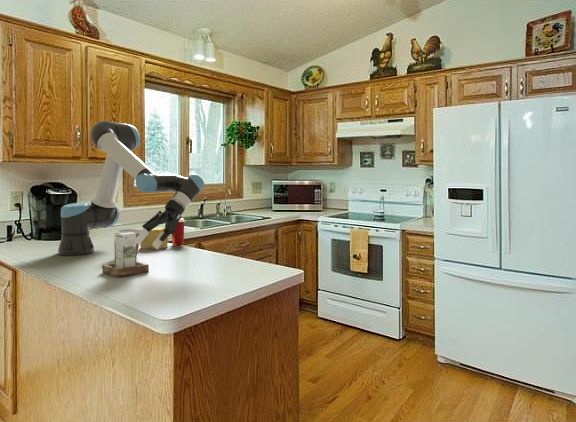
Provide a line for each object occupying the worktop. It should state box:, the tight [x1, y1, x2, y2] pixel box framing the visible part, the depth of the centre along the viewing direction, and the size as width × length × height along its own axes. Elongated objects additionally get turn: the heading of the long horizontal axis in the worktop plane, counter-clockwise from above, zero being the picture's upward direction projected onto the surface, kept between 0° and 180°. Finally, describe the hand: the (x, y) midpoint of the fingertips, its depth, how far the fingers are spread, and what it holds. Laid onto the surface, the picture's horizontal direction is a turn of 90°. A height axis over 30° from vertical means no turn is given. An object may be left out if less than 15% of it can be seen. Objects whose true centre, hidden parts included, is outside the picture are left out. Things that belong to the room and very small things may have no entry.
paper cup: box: [171, 217, 186, 247], centre depth 214 cm, size 8×8×14 cm
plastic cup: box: [116, 228, 141, 257], centre depth 181 cm, size 11×11×12 cm
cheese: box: [140, 227, 169, 250], centre depth 205 cm, size 10×11×10 cm
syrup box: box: [113, 232, 137, 269], centre depth 150 cm, size 6×6×14 cm
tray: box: [101, 260, 150, 279], centre depth 151 cm, size 12×12×3 cm
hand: (145, 244), depth 156 cm, fingers open, 13 cm apart
